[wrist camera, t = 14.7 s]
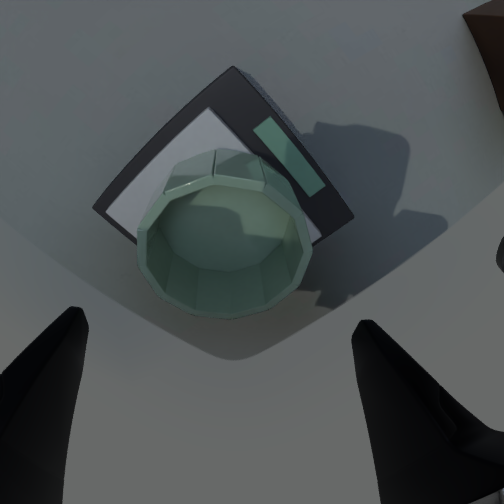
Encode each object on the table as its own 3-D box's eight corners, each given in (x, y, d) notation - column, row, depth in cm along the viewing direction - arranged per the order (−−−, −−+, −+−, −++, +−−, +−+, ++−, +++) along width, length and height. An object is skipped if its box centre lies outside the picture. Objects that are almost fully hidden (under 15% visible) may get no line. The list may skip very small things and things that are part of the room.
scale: (342, 199, 18) (359, 223, 15) (219, 286, 21) (219, 316, 19) (233, 64, 13) (233, 65, 10) (104, 190, 16) (87, 213, 14)
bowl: (311, 162, 13) (334, 196, 10) (274, 276, 17) (283, 324, 14) (159, 137, 12) (139, 164, 9) (152, 261, 16) (139, 309, 13)
